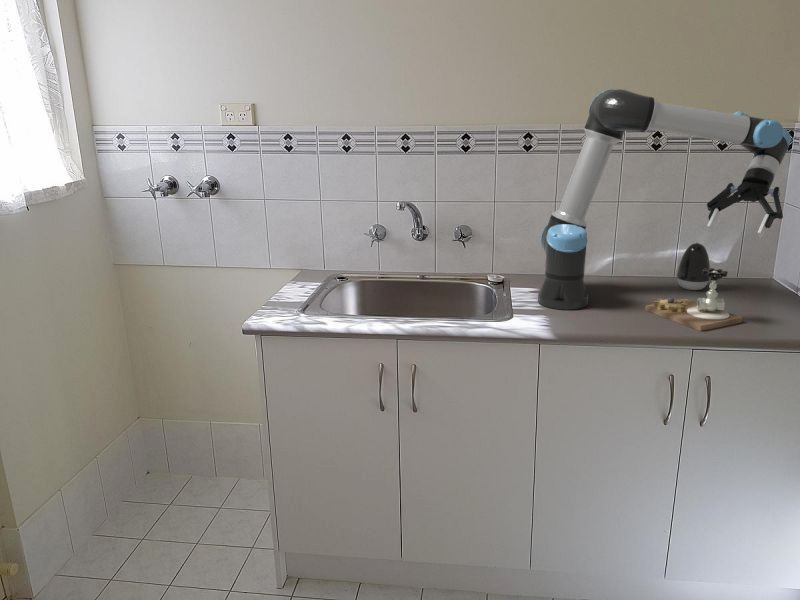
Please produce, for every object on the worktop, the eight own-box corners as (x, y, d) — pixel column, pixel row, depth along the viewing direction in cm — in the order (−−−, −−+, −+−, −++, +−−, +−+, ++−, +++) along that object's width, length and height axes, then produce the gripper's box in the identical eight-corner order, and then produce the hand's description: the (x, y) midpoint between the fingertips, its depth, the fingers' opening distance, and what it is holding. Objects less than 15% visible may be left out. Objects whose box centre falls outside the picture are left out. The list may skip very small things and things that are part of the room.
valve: (725, 315, 179) (731, 274, 175) (700, 314, 180) (705, 273, 176) (718, 308, 185) (724, 268, 181) (694, 307, 186) (699, 267, 182)
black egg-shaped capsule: (708, 285, 214) (714, 241, 209) (708, 294, 205) (714, 247, 200) (675, 282, 218) (681, 238, 214) (674, 290, 209) (679, 245, 205)
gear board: (645, 310, 190) (646, 296, 189) (684, 303, 196) (686, 290, 195) (700, 331, 172) (702, 316, 171) (741, 322, 179) (744, 308, 177)
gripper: (809, 186, 182) (783, 246, 176) (718, 179, 199) (692, 233, 193) (807, 169, 176) (780, 230, 171) (714, 163, 194) (687, 218, 188)
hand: (733, 232), depth 182 cm, fingers open, 13 cm apart
